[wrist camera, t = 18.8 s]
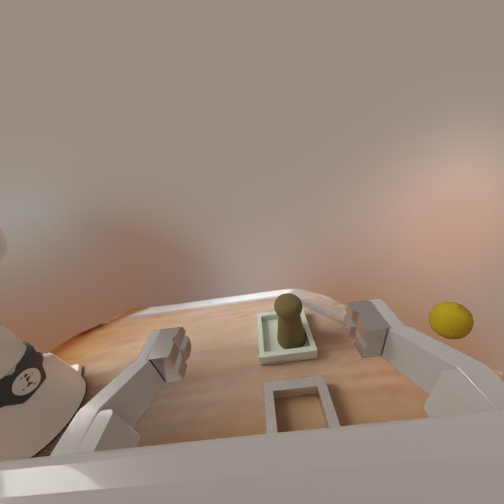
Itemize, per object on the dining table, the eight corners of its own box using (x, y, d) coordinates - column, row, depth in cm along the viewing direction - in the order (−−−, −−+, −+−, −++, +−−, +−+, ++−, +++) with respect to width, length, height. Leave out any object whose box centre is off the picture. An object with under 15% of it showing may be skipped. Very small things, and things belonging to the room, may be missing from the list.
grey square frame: (271, 476, 25) (269, 470, 24) (265, 389, 34) (263, 382, 33) (351, 469, 25) (352, 462, 23) (323, 383, 33) (323, 375, 32)
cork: (289, 321, 45) (285, 284, 40) (311, 336, 41) (311, 298, 35) (271, 338, 42) (264, 301, 36) (293, 357, 37) (289, 317, 32)
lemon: (461, 330, 37) (477, 299, 33) (465, 353, 34) (484, 322, 30) (423, 319, 41) (434, 290, 37) (424, 339, 37) (436, 310, 33)
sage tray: (261, 365, 38) (259, 357, 37) (258, 320, 48) (256, 313, 46) (317, 358, 37) (317, 350, 36) (302, 314, 47) (302, 307, 46)
